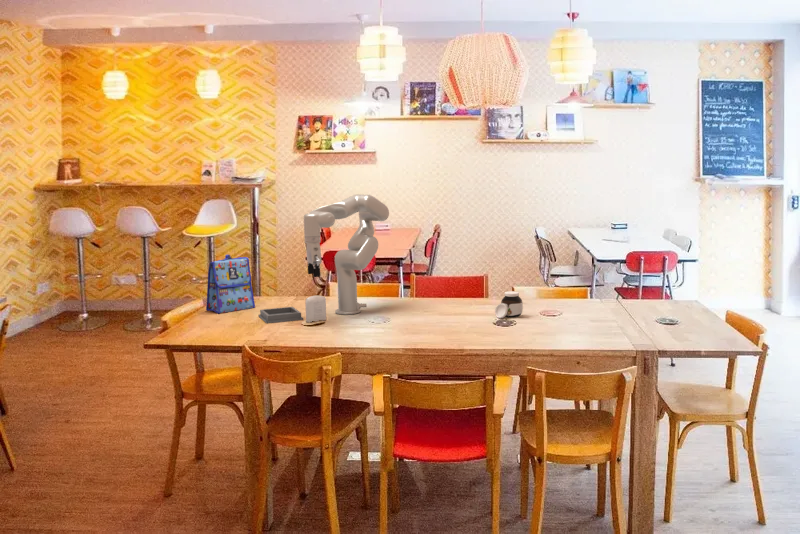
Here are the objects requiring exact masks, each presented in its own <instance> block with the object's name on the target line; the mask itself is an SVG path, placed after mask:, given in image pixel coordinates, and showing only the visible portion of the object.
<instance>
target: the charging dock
mask: <svg viewBox="0 0 800 534" xmlns="http://www.w3.org/2000/svg"><path fill="white" fill-rule="evenodd" d="M259 310H260V311H259V314H258V318H259V319H261V320H262V321H263V322H264V323H266V324H268V325H269V324H277V323H285V322H286V323H287V322H295V321H297V322H298V321H304V317H303V316H302V312H301V311H299V310H298V309H297V308H295V307H294V306H286V307H274V308H264V309H259Z"/></svg>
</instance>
